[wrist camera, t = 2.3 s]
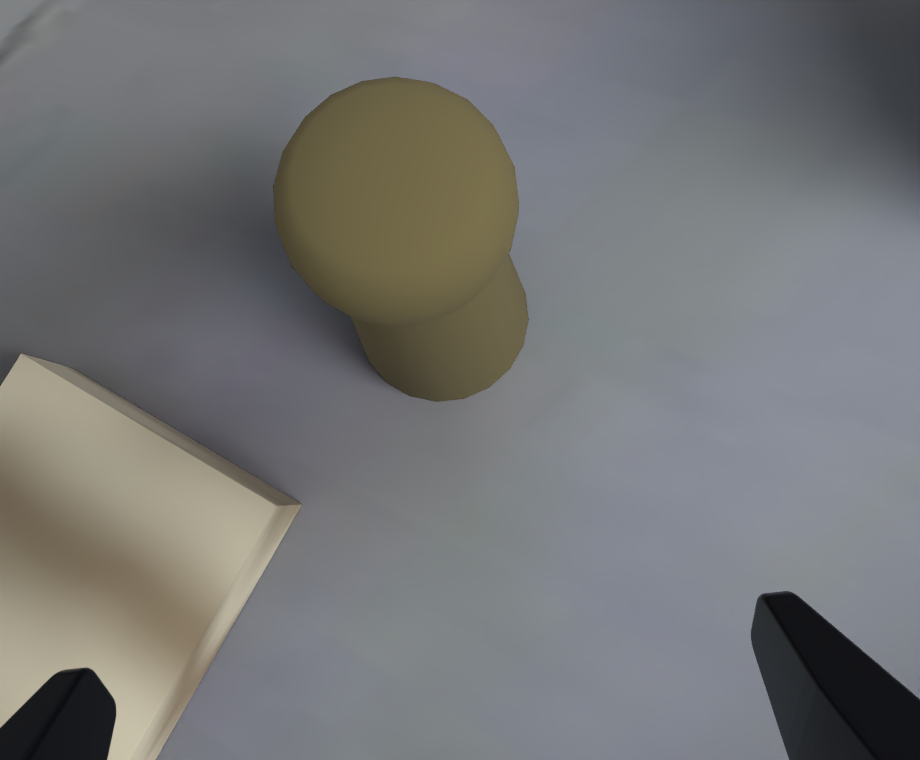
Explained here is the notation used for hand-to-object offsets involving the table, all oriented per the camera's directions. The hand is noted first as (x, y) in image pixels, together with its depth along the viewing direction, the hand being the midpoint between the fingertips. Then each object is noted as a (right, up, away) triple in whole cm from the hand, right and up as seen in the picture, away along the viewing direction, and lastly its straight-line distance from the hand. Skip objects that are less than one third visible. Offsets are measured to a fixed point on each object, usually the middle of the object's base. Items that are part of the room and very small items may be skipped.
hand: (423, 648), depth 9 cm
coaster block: (-12, -3, +14) cm, 18 cm away
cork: (0, +6, +15) cm, 16 cm away
